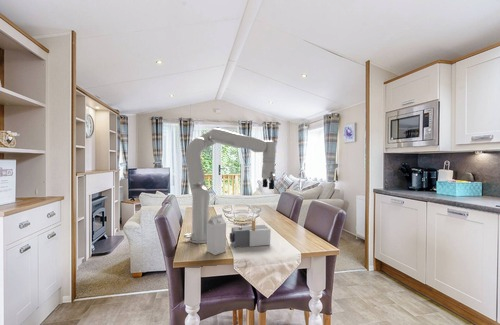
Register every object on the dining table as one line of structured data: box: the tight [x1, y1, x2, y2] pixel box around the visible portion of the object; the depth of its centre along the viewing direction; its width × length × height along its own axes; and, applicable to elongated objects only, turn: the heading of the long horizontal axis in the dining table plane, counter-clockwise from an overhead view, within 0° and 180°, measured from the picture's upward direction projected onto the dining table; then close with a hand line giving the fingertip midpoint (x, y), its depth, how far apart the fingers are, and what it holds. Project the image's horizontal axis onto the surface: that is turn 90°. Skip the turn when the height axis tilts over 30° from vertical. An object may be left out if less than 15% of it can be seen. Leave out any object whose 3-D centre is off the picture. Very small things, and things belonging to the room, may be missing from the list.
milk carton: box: [206, 213, 227, 256], centre depth 138 cm, size 7×7×19 cm
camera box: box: [229, 224, 271, 249], centre depth 151 cm, size 22×8×10 cm, turn 109°
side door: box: [248, 219, 271, 248], centre depth 148 cm, size 12×2×14 cm, turn 109°
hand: (268, 188), depth 167 cm, fingers open, 9 cm apart
